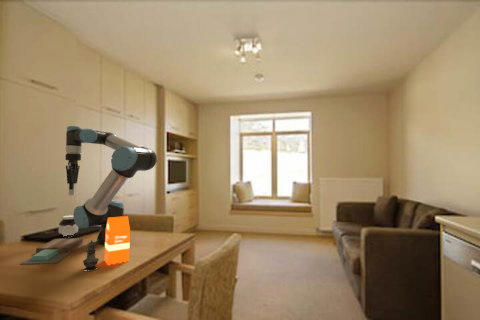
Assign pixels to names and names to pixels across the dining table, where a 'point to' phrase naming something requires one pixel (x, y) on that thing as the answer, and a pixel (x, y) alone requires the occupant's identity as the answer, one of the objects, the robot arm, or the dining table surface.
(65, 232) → the spread jar
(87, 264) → the black chess piece
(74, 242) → the brown flat block
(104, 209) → the robot arm
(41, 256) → the card
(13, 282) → the dining table surface
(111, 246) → the orange juice
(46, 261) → the mat
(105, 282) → the dining table surface
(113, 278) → the dining table surface
